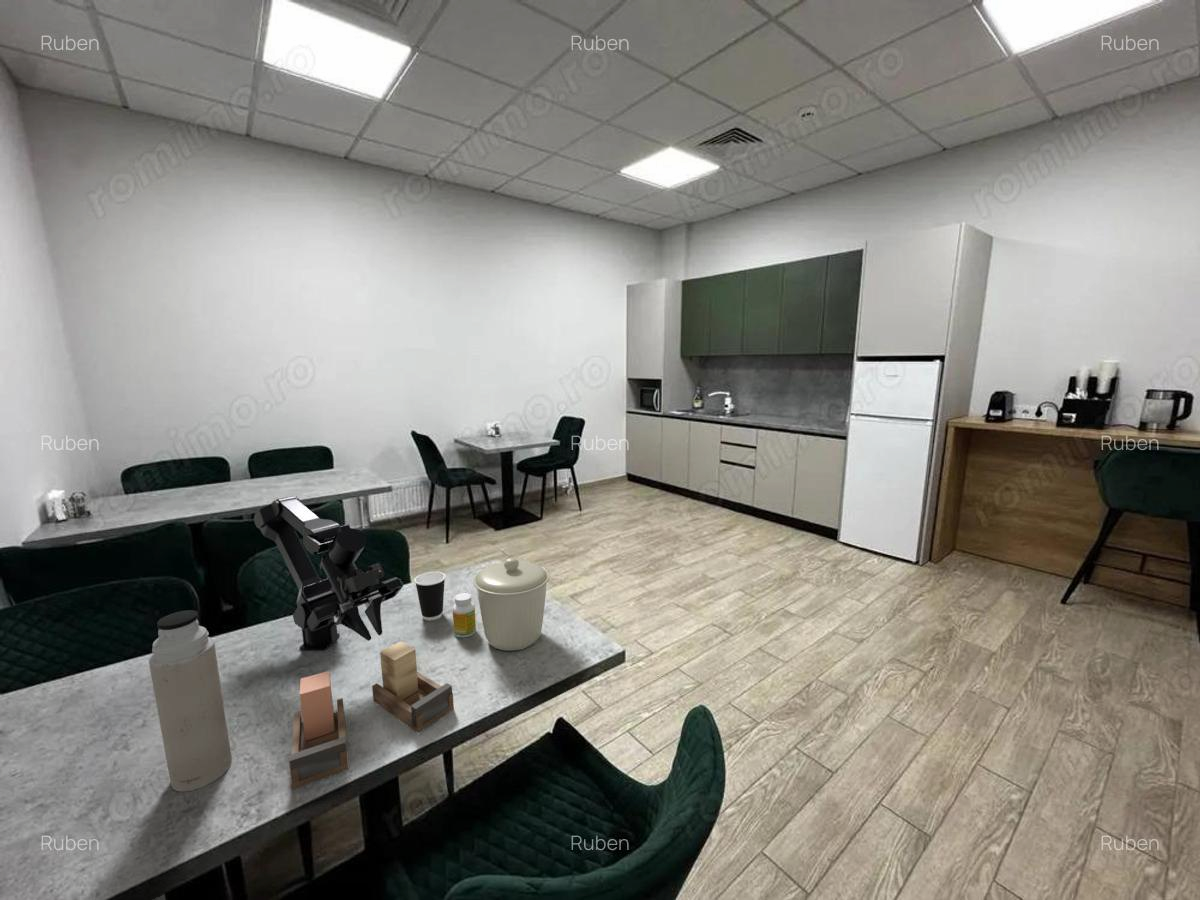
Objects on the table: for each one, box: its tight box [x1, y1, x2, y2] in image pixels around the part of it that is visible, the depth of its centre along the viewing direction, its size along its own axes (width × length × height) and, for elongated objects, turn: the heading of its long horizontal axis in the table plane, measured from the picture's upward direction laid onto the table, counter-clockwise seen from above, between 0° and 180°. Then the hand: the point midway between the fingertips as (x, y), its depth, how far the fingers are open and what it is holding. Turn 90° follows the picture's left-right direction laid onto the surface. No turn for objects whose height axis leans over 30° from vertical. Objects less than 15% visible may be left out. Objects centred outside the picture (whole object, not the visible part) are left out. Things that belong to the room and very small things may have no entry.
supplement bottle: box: [452, 592, 477, 638], centre depth 123 cm, size 5×5×10 cm
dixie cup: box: [413, 571, 447, 622], centre depth 131 cm, size 8×8×11 cm
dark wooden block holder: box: [288, 697, 349, 790], centre depth 86 cm, size 15×8×5 cm, turn 30°
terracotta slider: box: [299, 670, 335, 741], centre depth 89 cm, size 5×5×9 cm
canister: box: [472, 557, 550, 652], centre depth 119 cm, size 18×18×21 cm
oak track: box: [371, 671, 455, 734], centre depth 97 cm, size 15×8×5 cm, turn 55°
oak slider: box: [379, 640, 418, 700], centre depth 99 cm, size 5×5×9 cm
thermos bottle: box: [148, 609, 233, 793], centre depth 79 cm, size 8×8×28 cm
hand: (375, 637), depth 102 cm, fingers open, 2 cm apart
